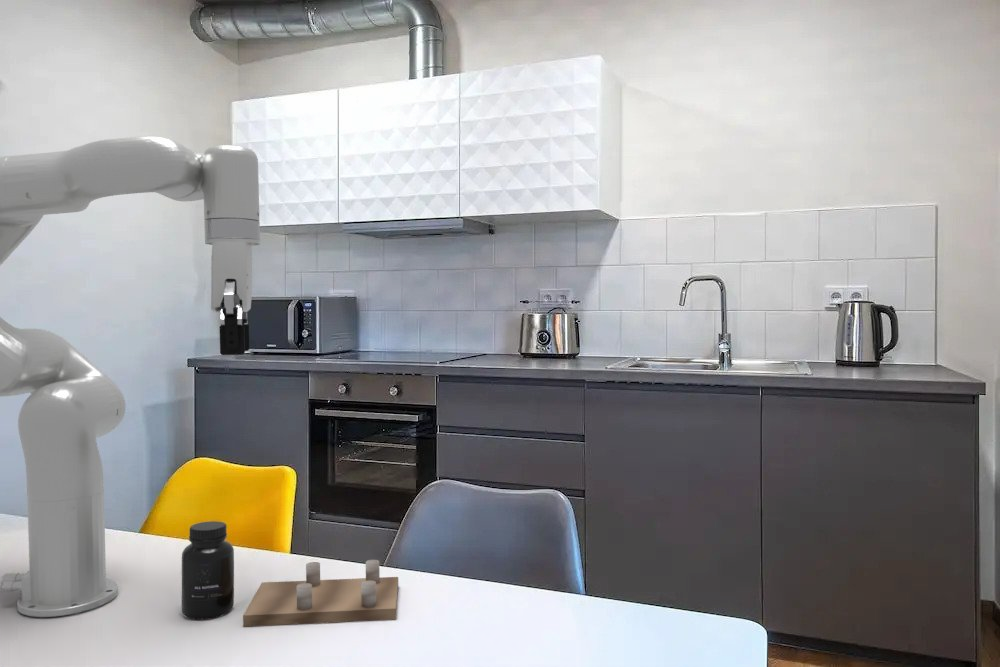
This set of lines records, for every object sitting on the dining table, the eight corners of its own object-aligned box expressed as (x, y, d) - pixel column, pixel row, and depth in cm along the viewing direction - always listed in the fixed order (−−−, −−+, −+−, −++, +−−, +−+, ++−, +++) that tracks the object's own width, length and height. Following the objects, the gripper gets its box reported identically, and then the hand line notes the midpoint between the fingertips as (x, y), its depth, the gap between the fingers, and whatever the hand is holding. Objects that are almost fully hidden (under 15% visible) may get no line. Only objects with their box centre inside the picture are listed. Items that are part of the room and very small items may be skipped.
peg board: (243, 626, 100) (242, 593, 100) (261, 592, 112) (261, 562, 112) (396, 619, 102) (395, 586, 102) (398, 586, 114) (398, 557, 114)
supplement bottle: (199, 625, 101) (197, 536, 100) (172, 612, 105) (170, 527, 104) (244, 608, 106) (243, 523, 106) (216, 597, 110) (215, 515, 110)
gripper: (211, 239, 117) (214, 350, 117) (196, 227, 100) (200, 357, 101) (262, 239, 118) (265, 348, 119) (256, 228, 102) (259, 355, 102)
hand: (235, 352), depth 110 cm, fingers open, 9 cm apart
